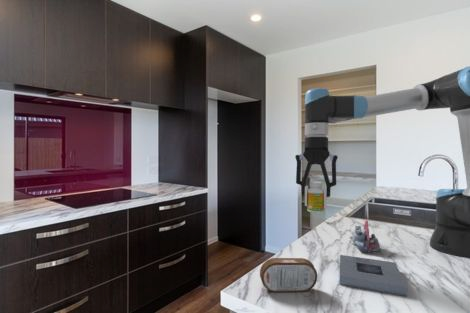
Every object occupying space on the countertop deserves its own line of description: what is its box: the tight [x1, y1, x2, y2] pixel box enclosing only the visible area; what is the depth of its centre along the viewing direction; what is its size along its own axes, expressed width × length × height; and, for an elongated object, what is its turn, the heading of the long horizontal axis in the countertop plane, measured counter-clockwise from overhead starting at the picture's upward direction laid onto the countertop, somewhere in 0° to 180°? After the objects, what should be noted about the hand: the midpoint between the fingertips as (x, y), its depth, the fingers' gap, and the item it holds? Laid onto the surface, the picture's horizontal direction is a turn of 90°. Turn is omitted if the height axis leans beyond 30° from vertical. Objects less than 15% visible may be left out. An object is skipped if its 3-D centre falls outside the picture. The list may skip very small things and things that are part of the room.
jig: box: [339, 254, 408, 297], centre depth 79 cm, size 16×16×2 cm
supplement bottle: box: [306, 181, 325, 214], centre depth 90 cm, size 5×5×10 cm
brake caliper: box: [349, 219, 381, 254], centre depth 101 cm, size 11×11×12 cm
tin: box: [259, 257, 318, 293], centre depth 71 cm, size 15×3×8 cm, turn 92°
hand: (315, 205), depth 90 cm, fingers closed on supplement bottle, 5 cm apart
